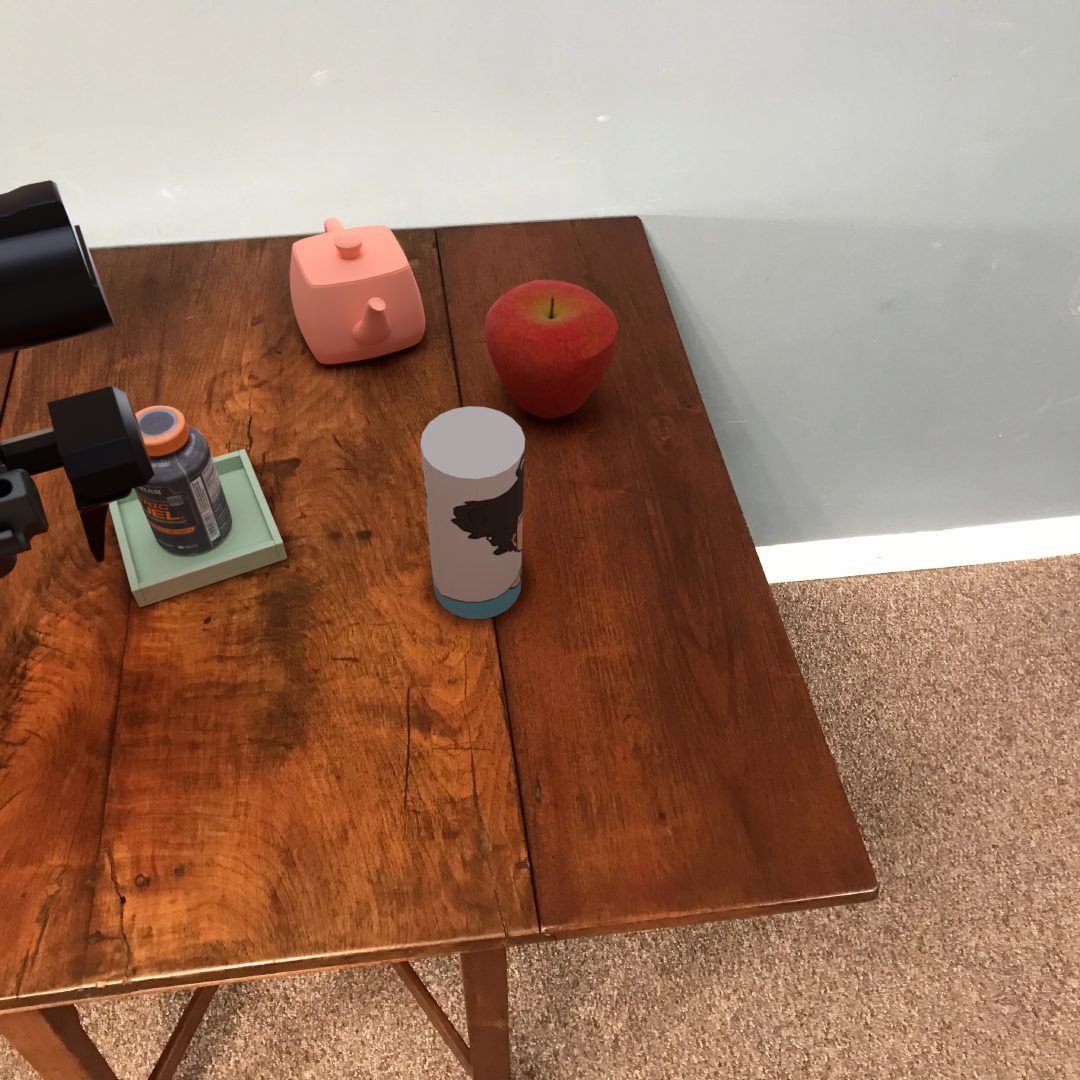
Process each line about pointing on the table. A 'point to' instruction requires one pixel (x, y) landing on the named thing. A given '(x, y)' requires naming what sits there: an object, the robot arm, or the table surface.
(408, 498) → the table surface
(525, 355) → the apple
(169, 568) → the dish
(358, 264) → the teapot
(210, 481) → the pill bottle
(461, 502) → the white cylindrical canister
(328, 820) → the table surface
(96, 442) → the robot arm
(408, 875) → the table surface
